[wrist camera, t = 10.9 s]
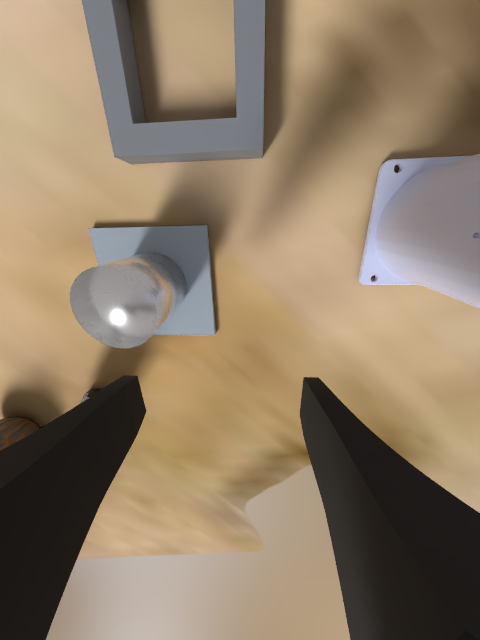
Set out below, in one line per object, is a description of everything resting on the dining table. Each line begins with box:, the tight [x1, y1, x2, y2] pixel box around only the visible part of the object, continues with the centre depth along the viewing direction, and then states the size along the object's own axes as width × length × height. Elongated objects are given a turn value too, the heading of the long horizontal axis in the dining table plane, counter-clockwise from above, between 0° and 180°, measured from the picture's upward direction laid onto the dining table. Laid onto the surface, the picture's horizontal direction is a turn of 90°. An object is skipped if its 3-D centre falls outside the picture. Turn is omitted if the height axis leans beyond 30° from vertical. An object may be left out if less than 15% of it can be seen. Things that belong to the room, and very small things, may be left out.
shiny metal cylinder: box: [70, 252, 186, 348], centre depth 16 cm, size 5×5×6 cm
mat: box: [88, 225, 216, 335], centre depth 19 cm, size 9×9×1 cm
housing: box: [82, 0, 265, 164], centre depth 12 cm, size 9×9×2 cm
